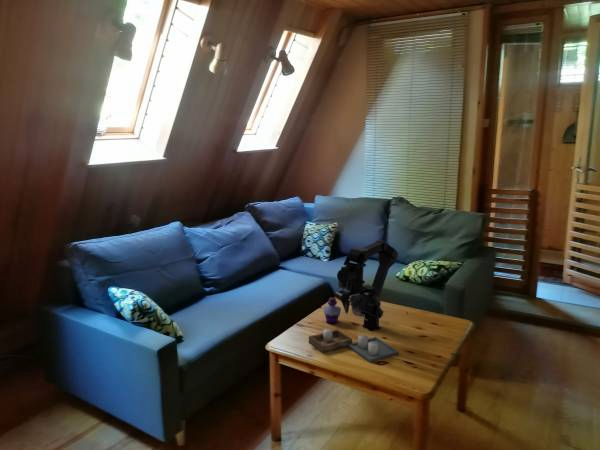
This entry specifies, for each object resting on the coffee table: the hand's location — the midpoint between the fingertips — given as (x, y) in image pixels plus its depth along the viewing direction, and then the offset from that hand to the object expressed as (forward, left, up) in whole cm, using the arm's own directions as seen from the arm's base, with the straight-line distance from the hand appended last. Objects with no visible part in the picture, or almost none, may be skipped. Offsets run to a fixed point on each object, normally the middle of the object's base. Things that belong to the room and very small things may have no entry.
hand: (355, 311), depth 204 cm
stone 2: (+4, +11, -11) cm, 16 cm away
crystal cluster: (-21, -21, -12) cm, 33 cm away
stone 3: (+4, +18, -11) cm, 22 cm away
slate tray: (+1, +14, -12) cm, 19 cm away
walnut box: (+13, +1, -12) cm, 18 cm away
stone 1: (+13, -1, -11) cm, 18 cm away
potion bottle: (0, -18, -12) cm, 22 cm away
